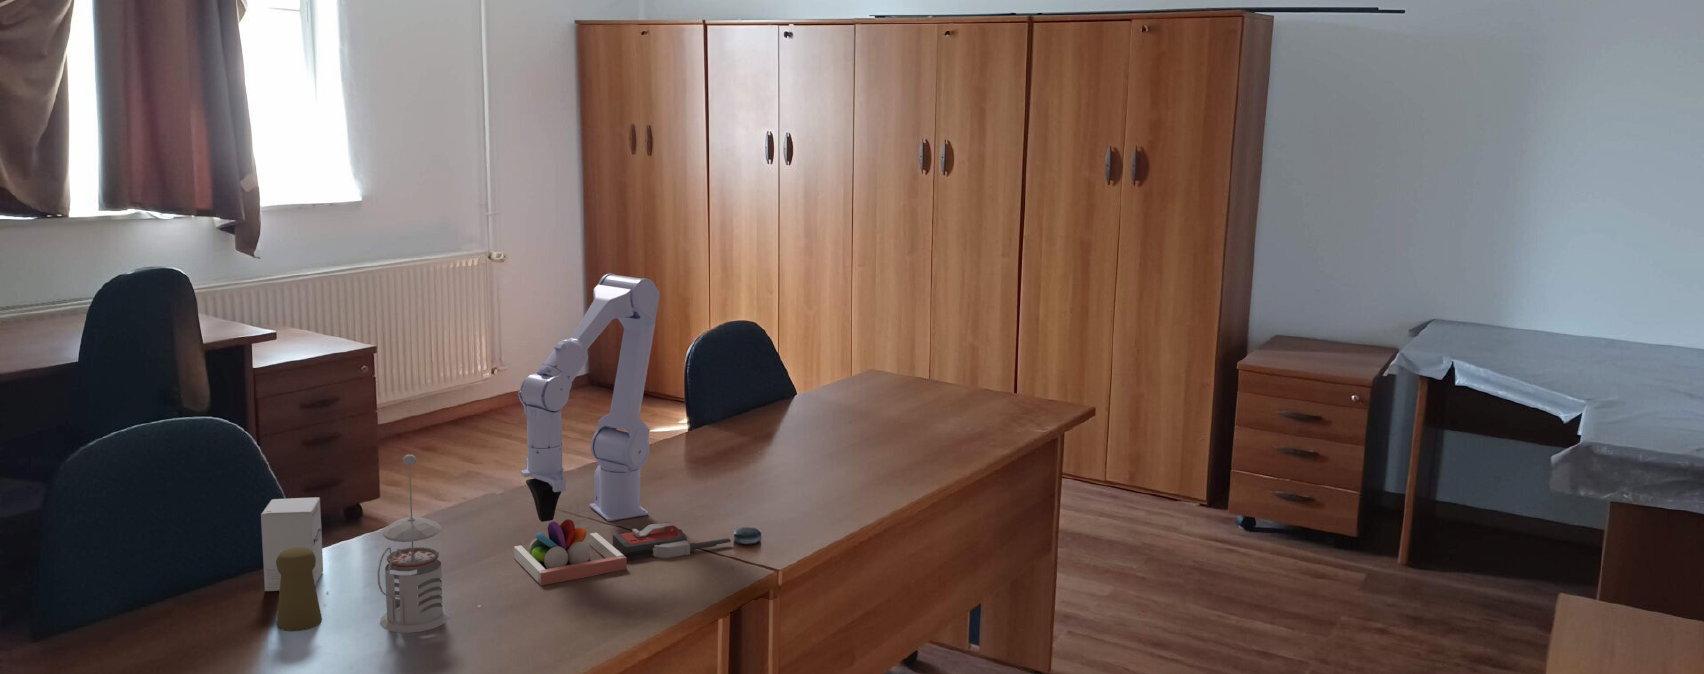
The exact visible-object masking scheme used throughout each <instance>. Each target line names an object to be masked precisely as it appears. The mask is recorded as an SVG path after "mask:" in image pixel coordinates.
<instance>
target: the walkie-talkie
mask: <svg viewBox="0 0 1704 674" xmlns="http://www.w3.org/2000/svg"><path fill="white" fill-rule="evenodd" d="M631 531H632V532H631ZM631 531H630V532H625V533H618V534H613V535H612V546H613V547H614V548H616V549H617V550H618V551H619V552H621V553H622V554H623V555H624V556H625V557H627V561H631V560H636V559H643V558H648V557H654V558H660V559H662V558H664V559H671V558H676V557H683V556H689V555H691V552H693V551H694V552H695V551H696V550H700V549H707V548H713V547H716V546H717V545H723V544H728V543H731V541H732V540H731V538H729V537H726V538H721V539H715V540H709V541H708V540H707V541H702V542H697V543H696V542H690V543H689V542H688V539H689V538H688V537H689V536H688V535H686V533H684V532H683V530H682V529H681V528H680V529H679V528H678V527H677V526H676V525H674V524H673V523H672V522H669V521H665V522H661V523H653V524H648V525H647V526H646V527H644V528H643V529H642V530H640V531H639V529H637V528H632V529H631Z"/></svg>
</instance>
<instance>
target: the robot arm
mask: <svg viewBox="0 0 1704 674" xmlns="http://www.w3.org/2000/svg"><path fill="white" fill-rule="evenodd" d="M592 294H593V295H592V296H593V301H592V302H591V304H590V306H589V307H588V309H587V311H586V312H585V314H584V316H583V317H582V318H581V320H580V322H579V324H578V325H577V327H576V328H575V330H574V331H573V333H572V335H571V336H570V338H567V339H562V340H559V341H558V342H557V343H556V344H555V345H554V347H553V350H552V352H551V353H550V354H549V355H548V357H547V358H546V360H545V361H544V362H543V363H542V365H541V366H540V368H539V369H538V370H537V371H536V373H532V374H530V375H528V376H527V377H525V378H524V379H523V381H522V383H521V385H520V390H519V391H518V392H517V395H518V399H519V401H520V403H521V405H522V406H523V414H524V416H525V417H526V433H527V434H526V439H527V440H526V441H527V442H526V443H527V444H526V445H527V446H526V447H527V458H525V469H521V470H520V475H521V476H522V477H524V478H529V477H530V478H529V479H526V480H525V484H526V485H527V488H528V489H529V491H530V493H531V495H532V498H533V501H534V506H535V509H536V514H537V517H538V518H537V519H538V520H539V521H540V522H541V523H544V522H552V521H553V520H554V517H555V514H556V511H557V510H556V509H557V505H558V502H559V498H560V496H561V493H562V492H564V491H565V492H566V491H567V489H566V488H567V484H566V481H567V480H566V478H565V477H564V476H565V475H564V470H565V469H564V466H563V435H562V433H563V430H562V427H563V426H562V424H563V423H562V408H564V406H565V405H566V404H567V403H568V401H569V398H570V390H571V388H572V387H573V386H572V385H573V383H572V382H573V381H574V380H575V378H576V377H577V375H578V374H579V373H580V371H581V370H582V369H583V367H584V366H585V364H586V363H587V361H588V360H589V359H588V358H589V355H588V350H589V348H590V346H592V344H593V343H594V342H595V340H597V338H598V337H599V336H600V335H601V334H602V333H603V331H604V330H605V329H606V328H607V327H608V325H609V324H610V323H611V322H612V321H613V320H614V319H615V320H616V319H618V321H619V322H620V324H621V325H622V327H623V333H622V339H621V347H620V350H619V351H620V352H619V358H618V363H617V370H616V375H615V381H614V385H613V393H612V398H611V402H610V403H611V404H610V411H609V412H608V413H607V414H606V415H603V416H602V417H601V418H600V419H599V420H598V421H597V426H596V430H595V432H594V434H593V436H592V438H591V441H590V452H591V455H592V456H593V458H594V459H595V460H597V461H596V462H597V463H596V464H597V467H596V469H595V471H594V477H593V479H594V483H593V484H594V485H593V486H594V487H593V490H594V495H593V496H594V501H593V503H589V507H590V508H591V509H592V510H594V511H595V512H596V513H598V514H599V515H600V516H601V517H602V518H604V519H605V520H606V521H609V522H612V521H618V520H623V519H630V518H636V517H642V516H647V515H649V512H648V510H646V509H645V508H643V507H642V506H641V469H642V468H644V465H645V463H646V462H647V460H648V458H649V455H650V450H651V449H650V448H651V447H650V438H649V437H650V428H649V426H648V425H647V424H646V423H645V422H644V420H643V419H642V418H641V416H640V414H641V410H642V402H643V399H644V392H645V386H646V382H647V376H648V369H649V363H650V358H651V357H650V356H651V351H652V345H653V339H654V333H655V328H656V320H657V319H656V318H657V312H658V307H659V301H660V295H661V293H660V291H659V289H658V287H657V286H656V284H655V283H654V281H653V280H652V279H649V278H644V277H643V278H638V277H633V276H626V275H625V276H624V275H617V274H615V273H611V272H610V273H607V274H604V275H603V276H601V278H600V279H599V281H598V283H597V285H596V286H595V287H594V288H593V293H592ZM622 430H623V431H622Z"/></svg>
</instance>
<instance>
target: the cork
mask: <svg viewBox="0 0 1704 674" xmlns="http://www.w3.org/2000/svg"><path fill="white" fill-rule="evenodd" d="M315 564H316V557H315V554H314V553H313V551H312V550H310V549H308V548H304V547H295V548H290V549H286V550H284V551H282V552H281V553H280V554H279V555H278V557H277V560H276V567H277V569H278V572H279V573H280V574H281V580H280V591H279V592H278V593H279V594H278V604H277V616H276V627H277V629H279V630H280V631H281V630H282V631H287V632H298V631H304V630H306V631H307V630H309V629H312V628H314V627H316V626H318V625H319V624H320V623H322V621H323V616H322V613H321V612H322V611H321V608H320V603H319V598H318V593H317V588H316V586H315V582H314V578H313V573H312V570H313V569H314V567H315Z"/></svg>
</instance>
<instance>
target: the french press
mask: <svg viewBox="0 0 1704 674" xmlns="http://www.w3.org/2000/svg"><path fill="white" fill-rule="evenodd" d="M416 463H417V457H416V455H414V454H406V455H405V456H404V457H402V464H403V465H408V474H409V475H408V476H409V477H408V478H409V480H408V481H409V502H410V503H409V508H410V517H404V518H402V519H397V520H395V521H394V522H391V523H390V524H388V525H387V526H385V527H384V528H383V529H382V532H381V534H382V536H383V537H384V538H385V539H386V540H388V541H393V542H397V543H407V542H410V543H411V547H410V546H409V547H407V548H398V549H397V550H395V551H392V548H391V547H387V548H386V549H385V551H383V553H382V555H381V558H380V559H379V564H378V568H377V585H378V588H379V589H380V592H381V594H382V595H384V596H385V598H386V599H385V600H386V613H385V614H383V616H382V617H381V618H380V620H379V625H380V626H381V627H382V628H383V629H384V630H387V631H390V632H394V633H404V634H405V633H406V634H408V633H409V634H410V633H419V632H424V631H425V632H426V631H428V630H433V629H436V628H437V627H440V626H442V625H444V624H445V623H446V622H447V621H448V620H450V617H451V616H450V614H451V613H450V612H449V610H447V609H446V608H445V607H444V605H443V596H442V595H443V588H442V587H443V581H442V580H441V579H442V578H443V577H442V576H443V575H442V574H443V573H442V562H441V560H439V559H438V558H439V556H440V555H439V554H440V553H439V552H438V551H436V549H434V548H430V547H422V546H419V547H414V542H417V541H423V540H427V539H430V538H432V537H435V536H436V535H438V534H439V533H440V532H441V531H442V525H440V524H439V523H438V522H437V521H434V520H433V519H428V518H425V517H421V516H417V517H416V516H413V503H412V502H413V501H412V499H413V498H412V497H413V496H412V495H413V494H412V472H411V465H413V464H416ZM388 551H389V555H387V556H386V561H387V562H388V563H387V564H386V566H385V568H384V572H385V573H384V576H385V577H384V579H385V592H384V590H383V588H382V585H381V580H380V579H381V578H380V570H381V567H382V562H383V560H384V557H385V555H386V553H387V552H388ZM391 571H396V572H412V571H416V573H414V574H411V575H409V574H405V575H403V574H402V575H400V574H393V573H391ZM395 580H398V582H395ZM396 588H398V589H399V590H396Z"/></svg>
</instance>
